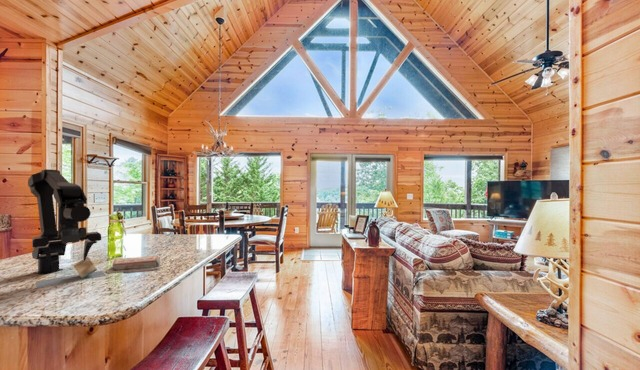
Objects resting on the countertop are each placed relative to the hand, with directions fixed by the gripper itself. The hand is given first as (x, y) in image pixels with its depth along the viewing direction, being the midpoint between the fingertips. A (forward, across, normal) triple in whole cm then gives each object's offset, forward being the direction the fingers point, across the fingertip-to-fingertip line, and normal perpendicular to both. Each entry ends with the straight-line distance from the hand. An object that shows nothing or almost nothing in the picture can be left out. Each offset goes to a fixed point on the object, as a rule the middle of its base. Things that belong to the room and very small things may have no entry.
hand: (68, 262), depth 107 cm
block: (0, +4, 0) cm, 4 cm away
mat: (+6, +1, 0) cm, 7 cm away
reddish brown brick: (+7, +21, 0) cm, 23 cm away
